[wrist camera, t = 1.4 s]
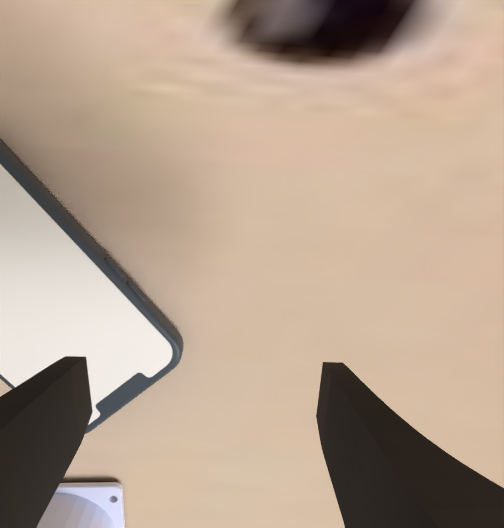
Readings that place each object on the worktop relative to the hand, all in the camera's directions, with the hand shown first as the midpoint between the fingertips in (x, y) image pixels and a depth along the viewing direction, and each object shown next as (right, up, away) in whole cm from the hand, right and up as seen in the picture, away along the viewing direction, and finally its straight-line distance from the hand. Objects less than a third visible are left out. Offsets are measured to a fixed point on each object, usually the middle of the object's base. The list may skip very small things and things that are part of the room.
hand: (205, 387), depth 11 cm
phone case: (-10, +3, +9) cm, 14 cm away
